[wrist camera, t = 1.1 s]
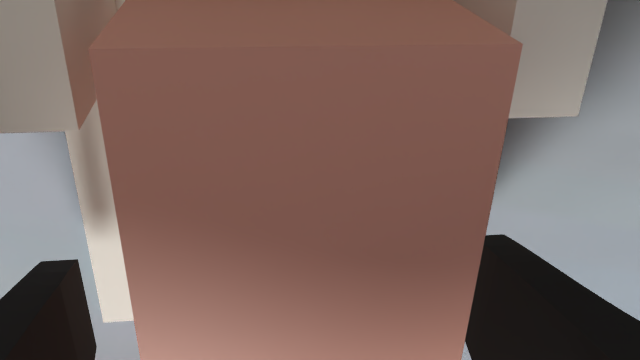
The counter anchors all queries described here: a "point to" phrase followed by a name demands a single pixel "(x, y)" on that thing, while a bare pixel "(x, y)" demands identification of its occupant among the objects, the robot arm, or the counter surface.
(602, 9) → the dispenser sleeve
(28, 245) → the counter surface
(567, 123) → the counter surface
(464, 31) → the pink block
